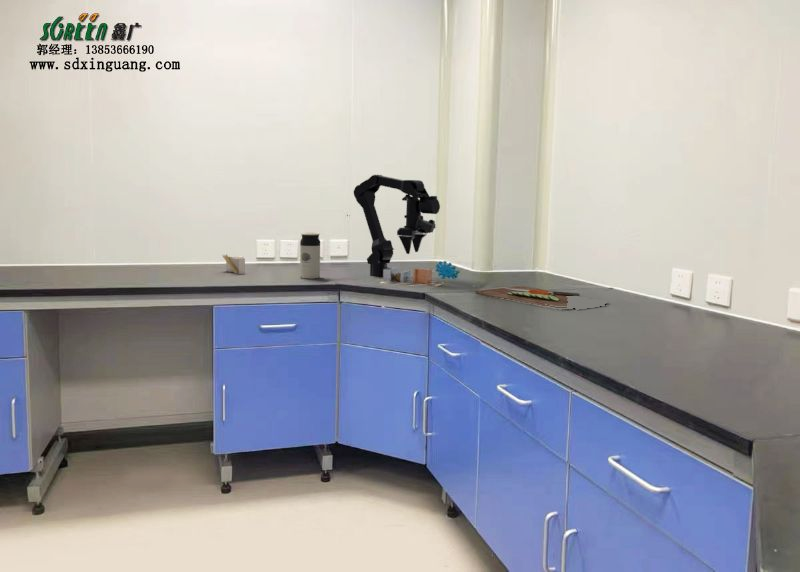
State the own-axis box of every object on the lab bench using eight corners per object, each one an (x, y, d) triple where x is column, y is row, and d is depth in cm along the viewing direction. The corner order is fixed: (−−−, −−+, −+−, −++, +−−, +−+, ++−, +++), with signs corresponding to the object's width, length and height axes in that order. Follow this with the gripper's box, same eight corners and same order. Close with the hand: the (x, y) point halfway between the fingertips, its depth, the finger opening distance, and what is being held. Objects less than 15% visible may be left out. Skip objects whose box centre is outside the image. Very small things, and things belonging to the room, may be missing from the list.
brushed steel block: (383, 282, 257) (383, 269, 257) (391, 279, 265) (391, 267, 264) (390, 282, 256) (390, 269, 255) (398, 280, 264) (398, 267, 263)
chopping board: (467, 293, 247) (467, 285, 247) (517, 288, 263) (517, 280, 263) (566, 313, 212) (566, 304, 212) (616, 306, 228) (617, 297, 228)
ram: (400, 282, 255) (400, 268, 254) (407, 280, 262) (407, 266, 261) (426, 285, 251) (426, 270, 251) (432, 282, 258) (432, 268, 257)
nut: (393, 283, 258) (392, 274, 258) (397, 282, 261) (395, 272, 261) (402, 282, 257) (400, 272, 256) (405, 280, 260) (404, 271, 260)
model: (239, 275, 278) (239, 256, 277) (221, 272, 284) (220, 254, 283) (245, 274, 281) (244, 256, 280) (226, 272, 287) (226, 254, 286)
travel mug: (309, 275, 279) (309, 232, 276) (323, 277, 274) (324, 233, 272) (295, 277, 273) (296, 232, 270) (310, 279, 268) (310, 234, 265)
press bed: (378, 285, 256) (378, 281, 256) (390, 282, 267) (390, 277, 267) (433, 290, 248) (433, 285, 248) (443, 286, 259) (443, 281, 259)
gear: (438, 277, 271) (434, 258, 277) (433, 286, 276) (429, 267, 281) (463, 280, 275) (458, 261, 281) (457, 289, 280) (452, 270, 286)
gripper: (424, 214, 250) (423, 256, 252) (441, 213, 267) (439, 252, 270) (397, 213, 254) (395, 254, 257) (414, 211, 271) (413, 250, 274)
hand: (412, 252), depth 264 cm, fingers open, 9 cm apart
